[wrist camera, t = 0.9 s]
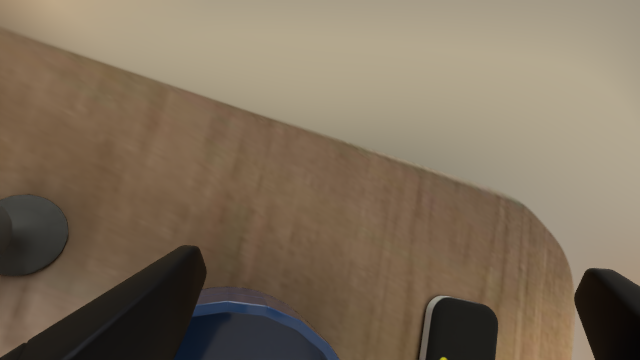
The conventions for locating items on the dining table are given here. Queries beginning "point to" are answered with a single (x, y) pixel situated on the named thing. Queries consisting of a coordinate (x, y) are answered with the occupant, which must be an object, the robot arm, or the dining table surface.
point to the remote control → (458, 330)
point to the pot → (249, 329)
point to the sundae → (29, 234)
